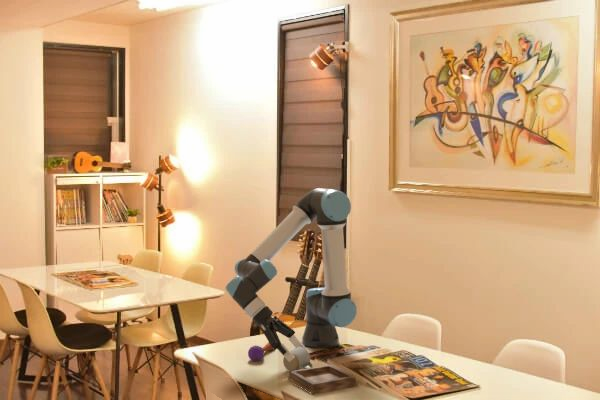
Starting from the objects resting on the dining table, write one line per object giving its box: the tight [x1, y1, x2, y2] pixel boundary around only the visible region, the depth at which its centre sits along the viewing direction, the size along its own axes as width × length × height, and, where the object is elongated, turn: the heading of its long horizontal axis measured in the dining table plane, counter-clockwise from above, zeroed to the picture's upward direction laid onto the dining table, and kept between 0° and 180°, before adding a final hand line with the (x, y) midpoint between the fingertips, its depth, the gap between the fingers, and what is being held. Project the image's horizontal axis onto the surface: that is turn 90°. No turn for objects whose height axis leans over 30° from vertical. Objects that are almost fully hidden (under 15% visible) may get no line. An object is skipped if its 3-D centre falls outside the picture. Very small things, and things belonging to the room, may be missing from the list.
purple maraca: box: [247, 341, 274, 362], centre depth 323 cm, size 6×6×20 cm
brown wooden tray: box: [286, 364, 359, 395], centre depth 288 cm, size 18×18×3 cm
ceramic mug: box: [282, 347, 314, 371], centre depth 304 cm, size 11×8×8 cm
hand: (297, 354), depth 304 cm, fingers open, 13 cm apart
